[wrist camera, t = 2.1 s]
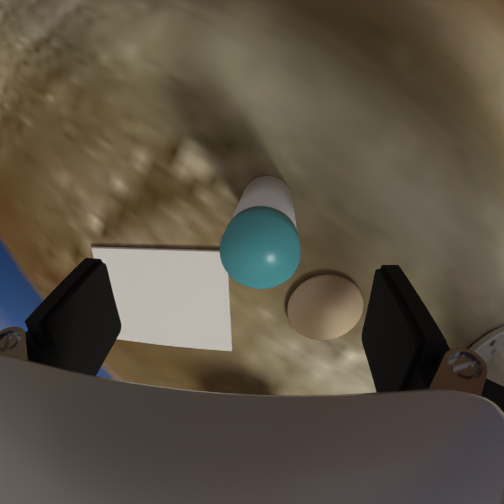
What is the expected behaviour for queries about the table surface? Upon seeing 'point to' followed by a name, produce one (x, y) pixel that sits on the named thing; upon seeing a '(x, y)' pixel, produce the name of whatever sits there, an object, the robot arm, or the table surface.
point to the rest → (325, 307)
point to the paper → (170, 296)
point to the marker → (262, 236)
